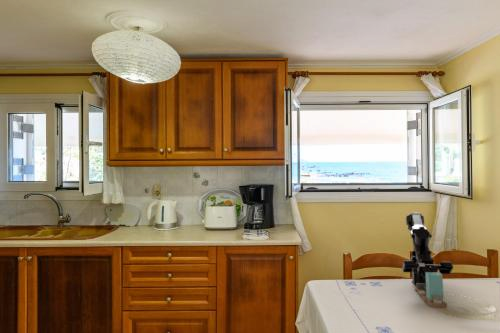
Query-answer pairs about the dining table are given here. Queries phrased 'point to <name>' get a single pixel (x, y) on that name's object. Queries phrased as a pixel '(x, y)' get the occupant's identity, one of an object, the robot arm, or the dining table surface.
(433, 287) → the teal rectangular block
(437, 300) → the cord board
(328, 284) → the dining table surface
